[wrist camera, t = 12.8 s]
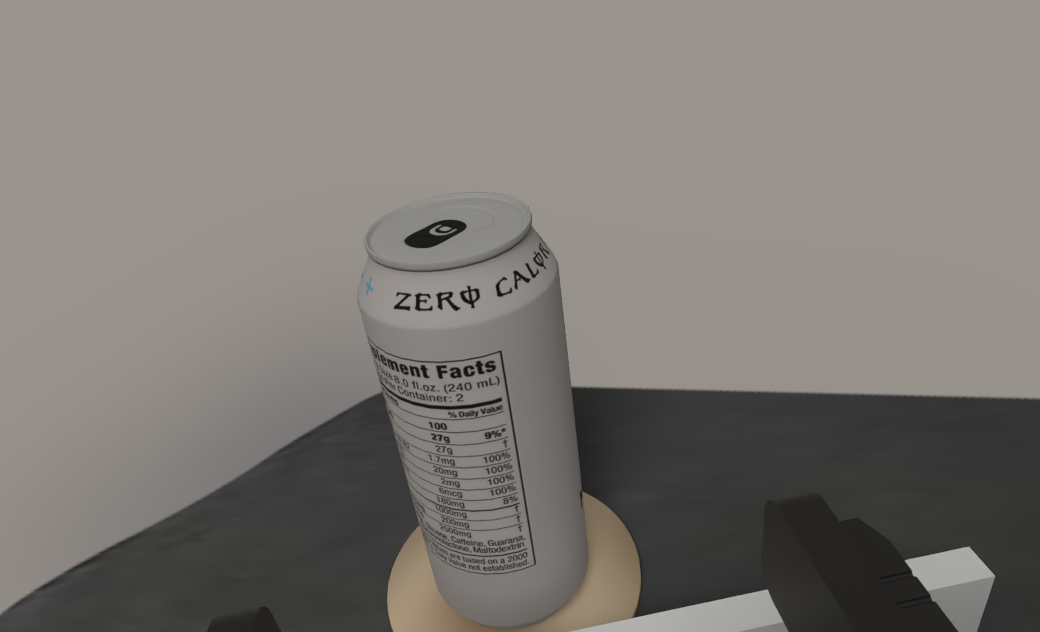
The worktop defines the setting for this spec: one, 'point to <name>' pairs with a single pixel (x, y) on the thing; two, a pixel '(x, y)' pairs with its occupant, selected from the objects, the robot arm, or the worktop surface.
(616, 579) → the cork coaster
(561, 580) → the energy drink can
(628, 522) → the worktop surface
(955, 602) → the white rectangular bar
